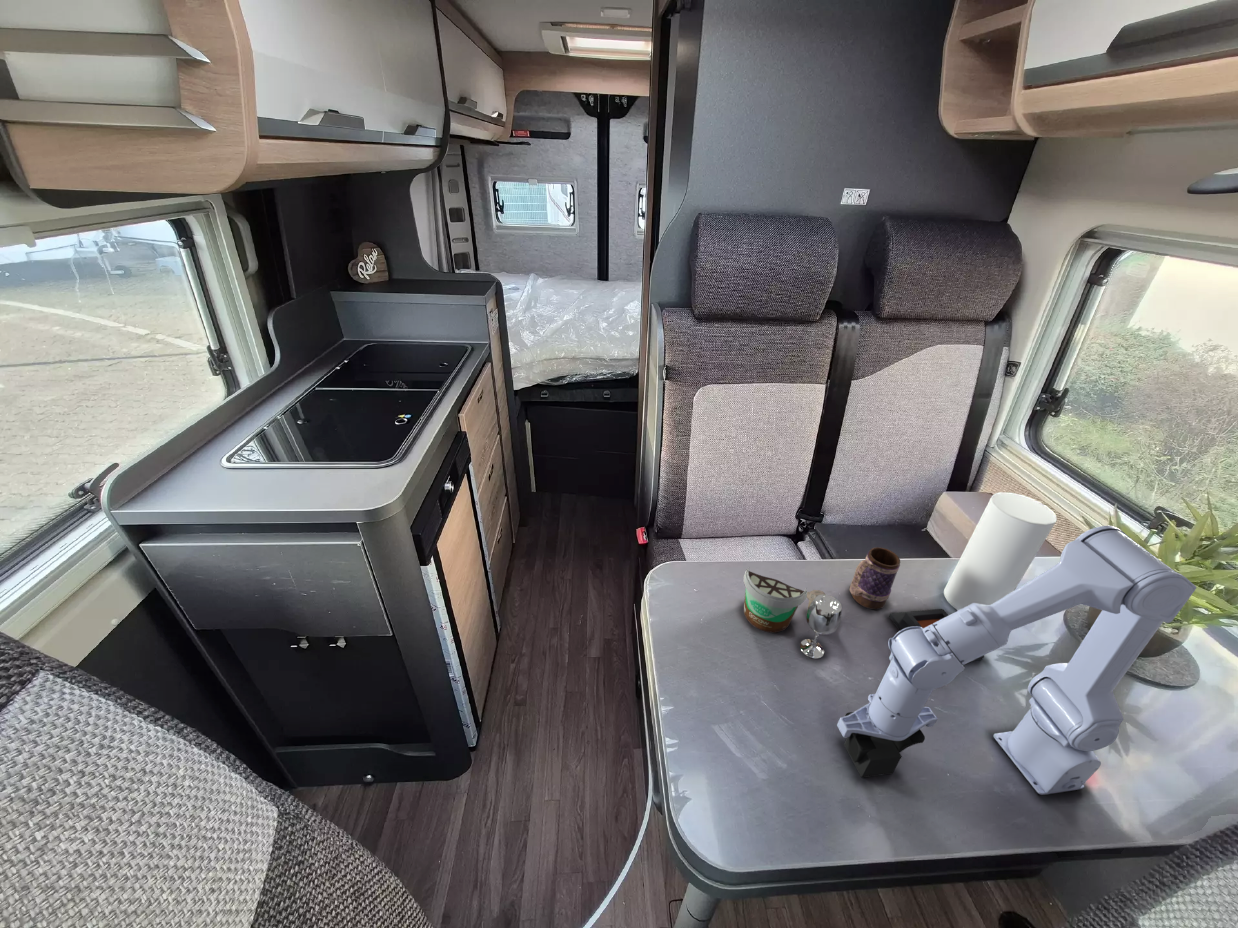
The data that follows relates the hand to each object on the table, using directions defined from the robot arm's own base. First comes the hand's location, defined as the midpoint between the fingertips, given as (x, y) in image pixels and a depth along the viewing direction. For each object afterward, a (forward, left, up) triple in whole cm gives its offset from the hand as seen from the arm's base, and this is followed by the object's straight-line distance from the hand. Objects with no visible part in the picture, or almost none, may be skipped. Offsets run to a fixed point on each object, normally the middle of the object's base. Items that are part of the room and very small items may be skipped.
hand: (870, 753), depth 81 cm
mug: (+32, -18, -2) cm, 37 cm away
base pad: (+21, -27, -1) cm, 34 cm away
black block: (0, 0, -1) cm, 1 cm away
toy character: (+29, -6, -2) cm, 30 cm away
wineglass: (+21, -1, -2) cm, 21 cm away
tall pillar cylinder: (+29, -42, -2) cm, 51 cm away
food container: (+28, +6, -2) cm, 29 cm away
